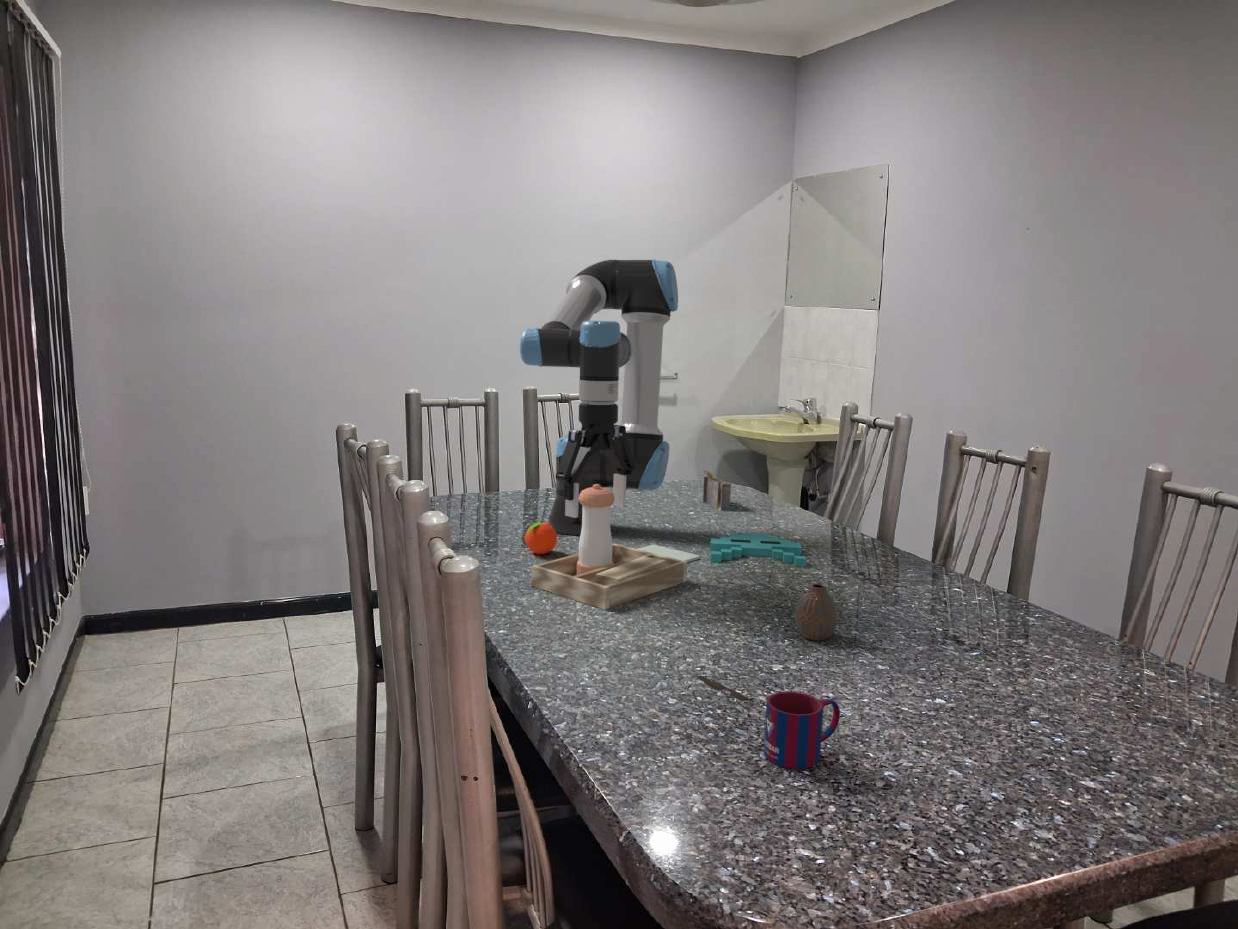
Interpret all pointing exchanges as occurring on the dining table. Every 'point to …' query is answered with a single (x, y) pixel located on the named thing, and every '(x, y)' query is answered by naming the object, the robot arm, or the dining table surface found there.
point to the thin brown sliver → (720, 687)
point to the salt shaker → (595, 529)
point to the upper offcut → (629, 570)
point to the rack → (584, 588)
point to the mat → (670, 553)
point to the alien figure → (756, 548)
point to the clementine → (541, 538)
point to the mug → (796, 729)
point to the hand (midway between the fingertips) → (596, 511)
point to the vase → (816, 613)
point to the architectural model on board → (716, 492)
